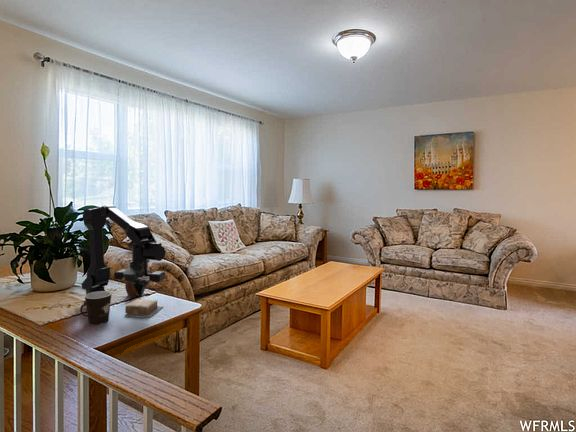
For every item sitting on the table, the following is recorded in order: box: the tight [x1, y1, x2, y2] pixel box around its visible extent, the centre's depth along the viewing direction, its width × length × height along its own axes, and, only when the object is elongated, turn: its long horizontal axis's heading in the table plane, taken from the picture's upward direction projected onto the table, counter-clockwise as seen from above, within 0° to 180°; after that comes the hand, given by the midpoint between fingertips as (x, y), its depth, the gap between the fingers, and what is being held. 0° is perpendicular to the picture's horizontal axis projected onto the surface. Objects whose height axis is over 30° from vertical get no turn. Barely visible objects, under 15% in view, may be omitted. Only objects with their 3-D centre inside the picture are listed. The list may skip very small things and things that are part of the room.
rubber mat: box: [124, 305, 164, 319], centre depth 138 cm, size 10×11×1 cm
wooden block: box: [124, 298, 158, 315], centre depth 138 cm, size 3×8×9 cm
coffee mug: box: [79, 290, 112, 326], centre depth 126 cm, size 12×9×10 cm
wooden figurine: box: [124, 281, 138, 297], centre depth 157 cm, size 7×6×15 cm
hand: (140, 296), depth 138 cm, fingers closed
